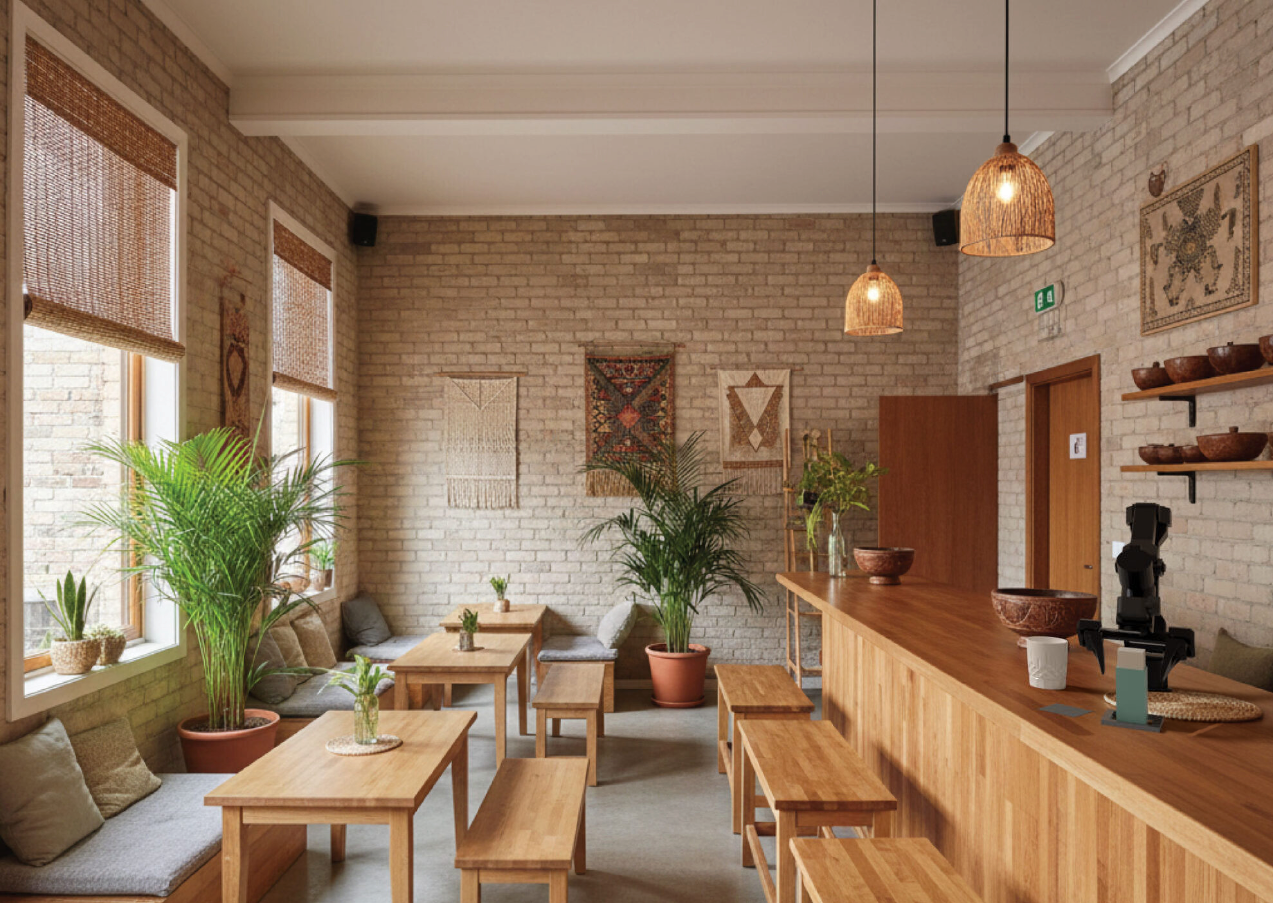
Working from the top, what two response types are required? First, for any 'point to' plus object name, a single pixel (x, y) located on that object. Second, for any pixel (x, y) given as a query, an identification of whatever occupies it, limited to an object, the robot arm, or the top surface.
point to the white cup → (1047, 662)
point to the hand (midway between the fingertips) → (1131, 676)
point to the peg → (1131, 686)
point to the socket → (1131, 725)
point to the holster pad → (1065, 710)
